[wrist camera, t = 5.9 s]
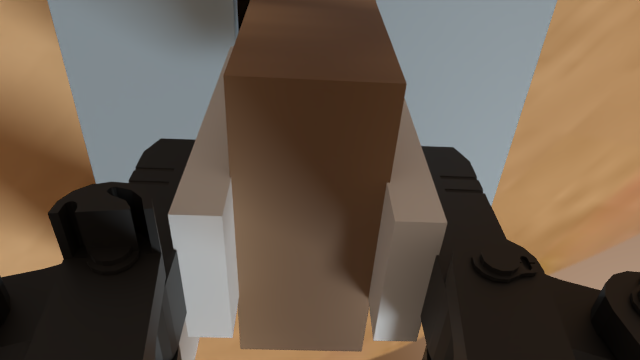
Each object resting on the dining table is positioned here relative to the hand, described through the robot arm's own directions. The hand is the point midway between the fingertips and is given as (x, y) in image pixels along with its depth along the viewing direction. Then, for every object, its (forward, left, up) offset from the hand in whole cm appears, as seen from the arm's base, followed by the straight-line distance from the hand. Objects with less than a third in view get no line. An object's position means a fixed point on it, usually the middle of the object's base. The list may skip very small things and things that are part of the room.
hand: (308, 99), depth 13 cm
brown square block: (0, 0, -1) cm, 1 cm away
